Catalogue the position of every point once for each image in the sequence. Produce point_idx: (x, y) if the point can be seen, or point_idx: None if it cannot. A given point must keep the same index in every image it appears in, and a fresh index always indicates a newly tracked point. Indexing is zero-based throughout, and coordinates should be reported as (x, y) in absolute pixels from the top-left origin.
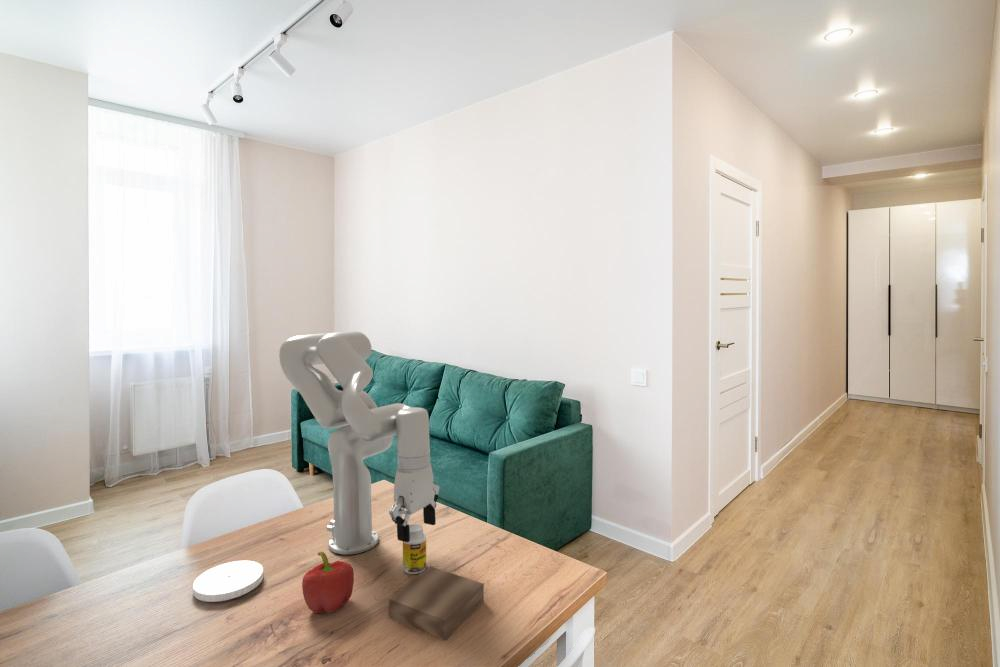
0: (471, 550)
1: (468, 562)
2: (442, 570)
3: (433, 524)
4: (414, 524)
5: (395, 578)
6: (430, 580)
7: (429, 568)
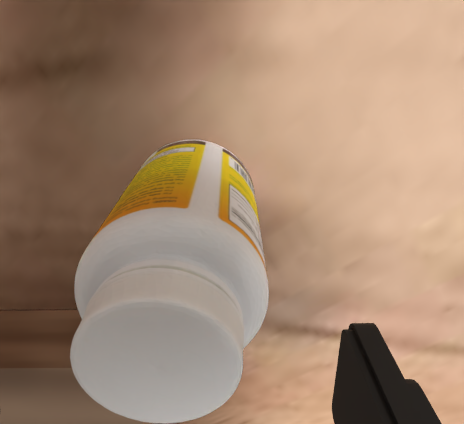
0: (454, 306)
1: None
2: None
3: (333, 417)
4: (214, 333)
5: (79, 167)
6: (50, 416)
7: None
